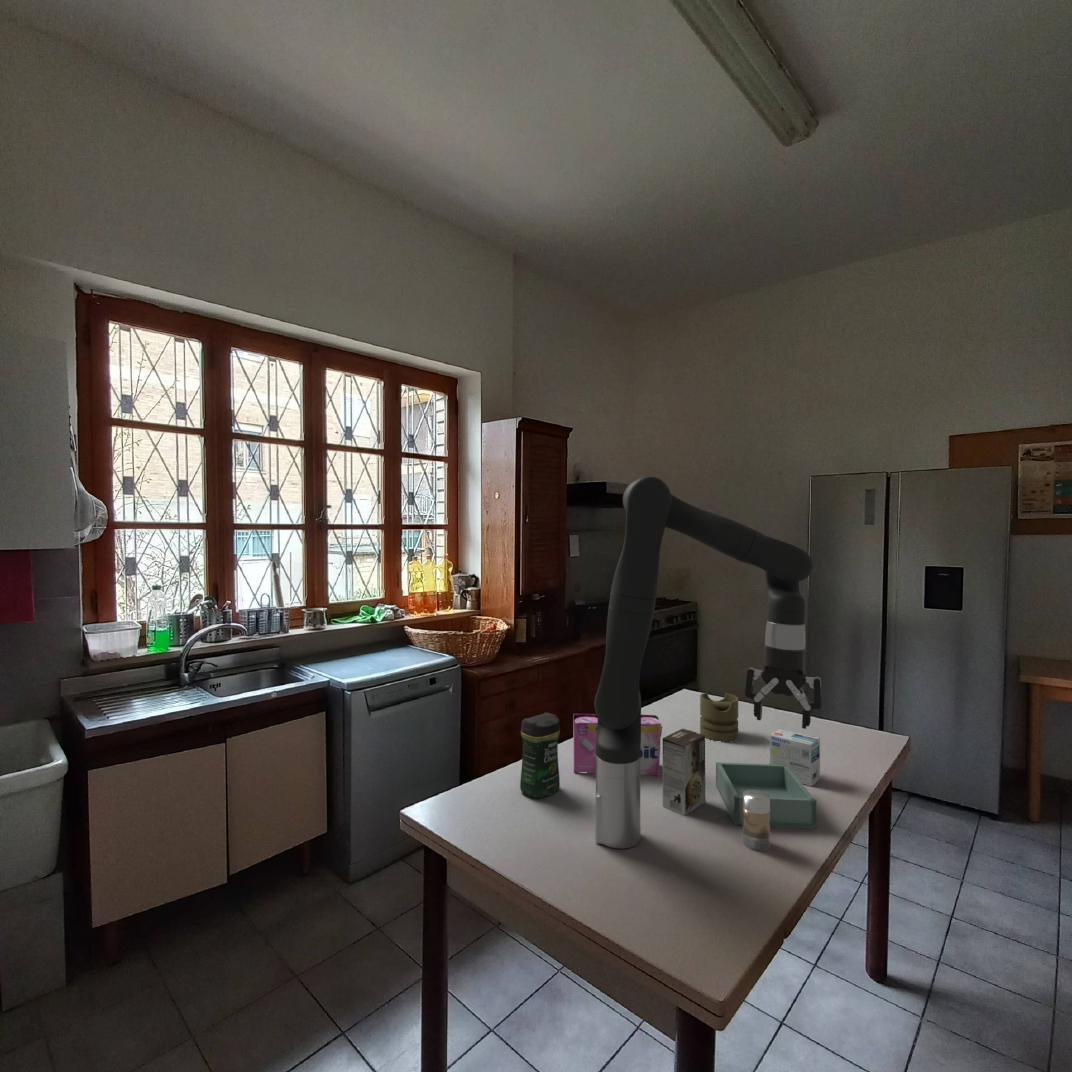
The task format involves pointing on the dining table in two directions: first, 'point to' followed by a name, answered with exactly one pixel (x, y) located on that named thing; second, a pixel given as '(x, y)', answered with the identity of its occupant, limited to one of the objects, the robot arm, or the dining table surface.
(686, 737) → the coffee box
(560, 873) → the dining table surface
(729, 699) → the piston
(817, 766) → the light bulb box
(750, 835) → the shiny silver brown cylinder
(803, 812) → the green tray
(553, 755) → the coffee jar
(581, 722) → the gum box
